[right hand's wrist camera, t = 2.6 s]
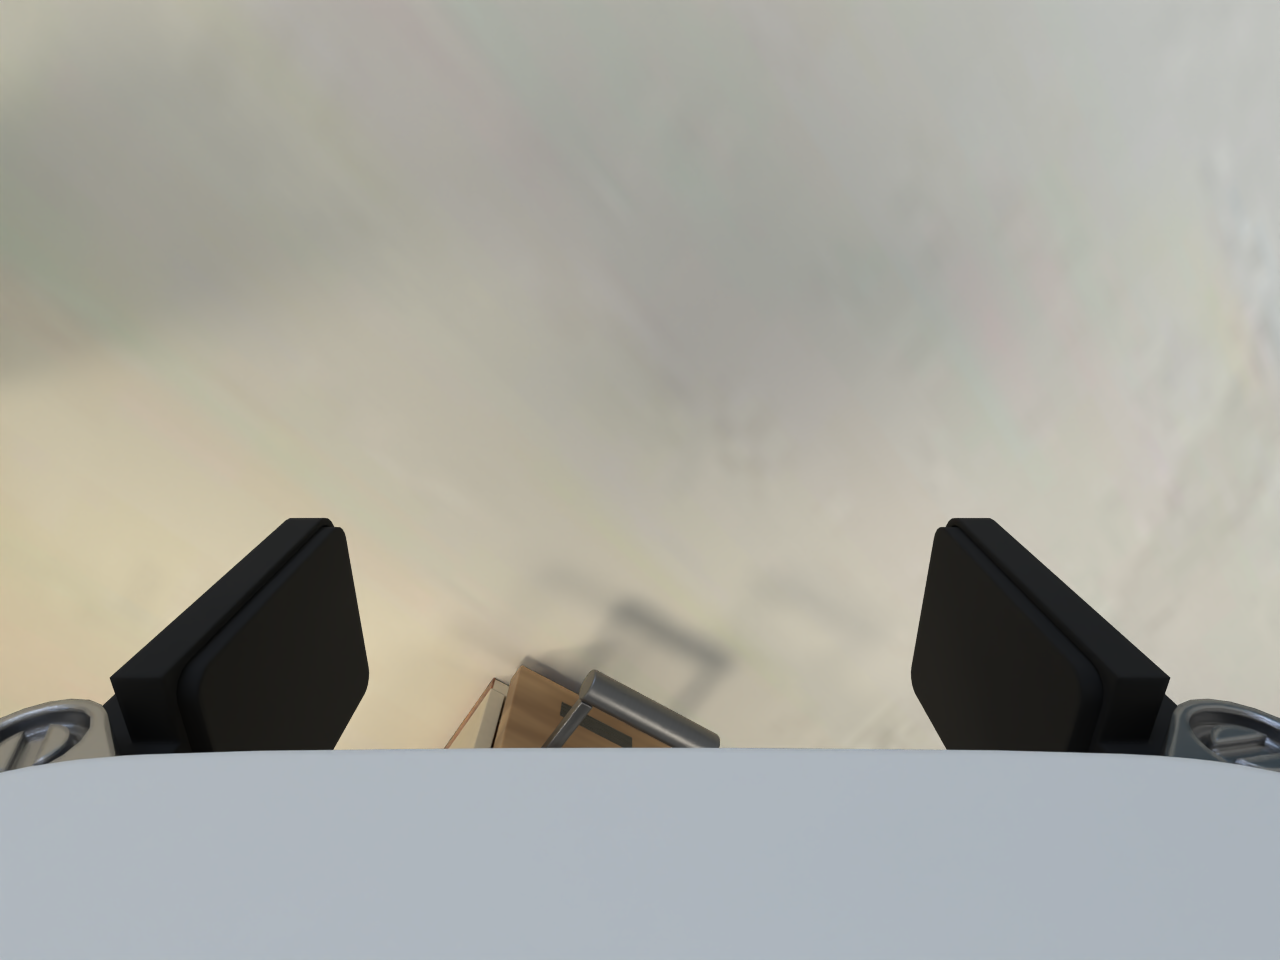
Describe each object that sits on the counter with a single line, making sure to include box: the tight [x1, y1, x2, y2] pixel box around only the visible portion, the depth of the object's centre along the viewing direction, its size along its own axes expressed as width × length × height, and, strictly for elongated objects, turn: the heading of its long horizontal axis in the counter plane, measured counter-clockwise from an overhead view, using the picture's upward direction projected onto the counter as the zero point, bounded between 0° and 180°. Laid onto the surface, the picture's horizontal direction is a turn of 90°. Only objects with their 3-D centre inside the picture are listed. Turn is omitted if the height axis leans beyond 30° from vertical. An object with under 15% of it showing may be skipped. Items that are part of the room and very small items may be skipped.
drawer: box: [491, 666, 720, 748], centre depth 35 cm, size 17×10×8 cm, turn 147°
